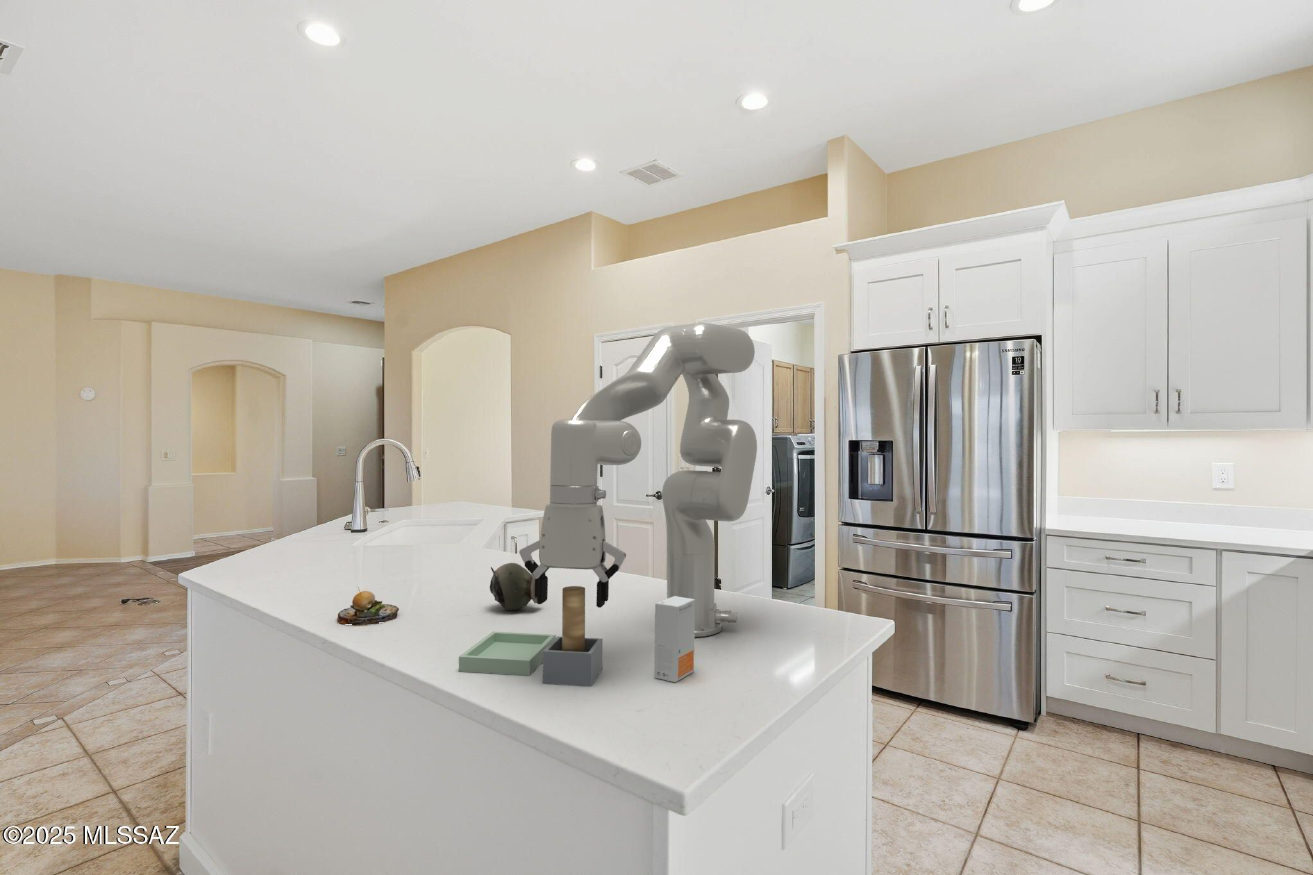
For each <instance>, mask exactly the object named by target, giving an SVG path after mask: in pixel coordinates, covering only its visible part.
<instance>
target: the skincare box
mask: <svg viewBox="0 0 1313 875" xmlns="http://www.w3.org/2000/svg"><path fill="white" fill-rule="evenodd" d="M654 610H655V611H654V612H655V613H654V661H653V662H654V663H653V664H654V670H653V671H654V673H653V674H654V675H653V676H654V678H655V679H659V680H664V681H667V682H672V683H678V682H679V681H680V680H682V679H684V678H685V677H687V676H689V675H690V674H692V673H694V672H695V637H694V636H695V599H690V598H683V597H678V596H673V597H671V598H667V597H666V598H665V599H663V600H661V601H658V602H655V607H654Z"/></svg>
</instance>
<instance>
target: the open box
mask: <svg viewBox="0 0 1313 875" xmlns="http://www.w3.org/2000/svg"><path fill="white" fill-rule="evenodd" d="M603 643H604V642H603V638H598V637H585V652H574V651H562V636H560V635H559V636H557V635H556V638H555V639H554V640H553V641H552V642H551V643H550V644H549V645H548V646H547V647H546V648H545V649H544V650H543V662H542V684H547V685H549V684H550V685H562V686H563V685H564V686H565V685H566V686H580V687H592V686H593V684H594V682H595V681H596V680H597V678H598V676H599V675H600V673H601V671H602V670H603V664H604V663H603V659H604V658H603V645H604V644H603Z"/></svg>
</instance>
